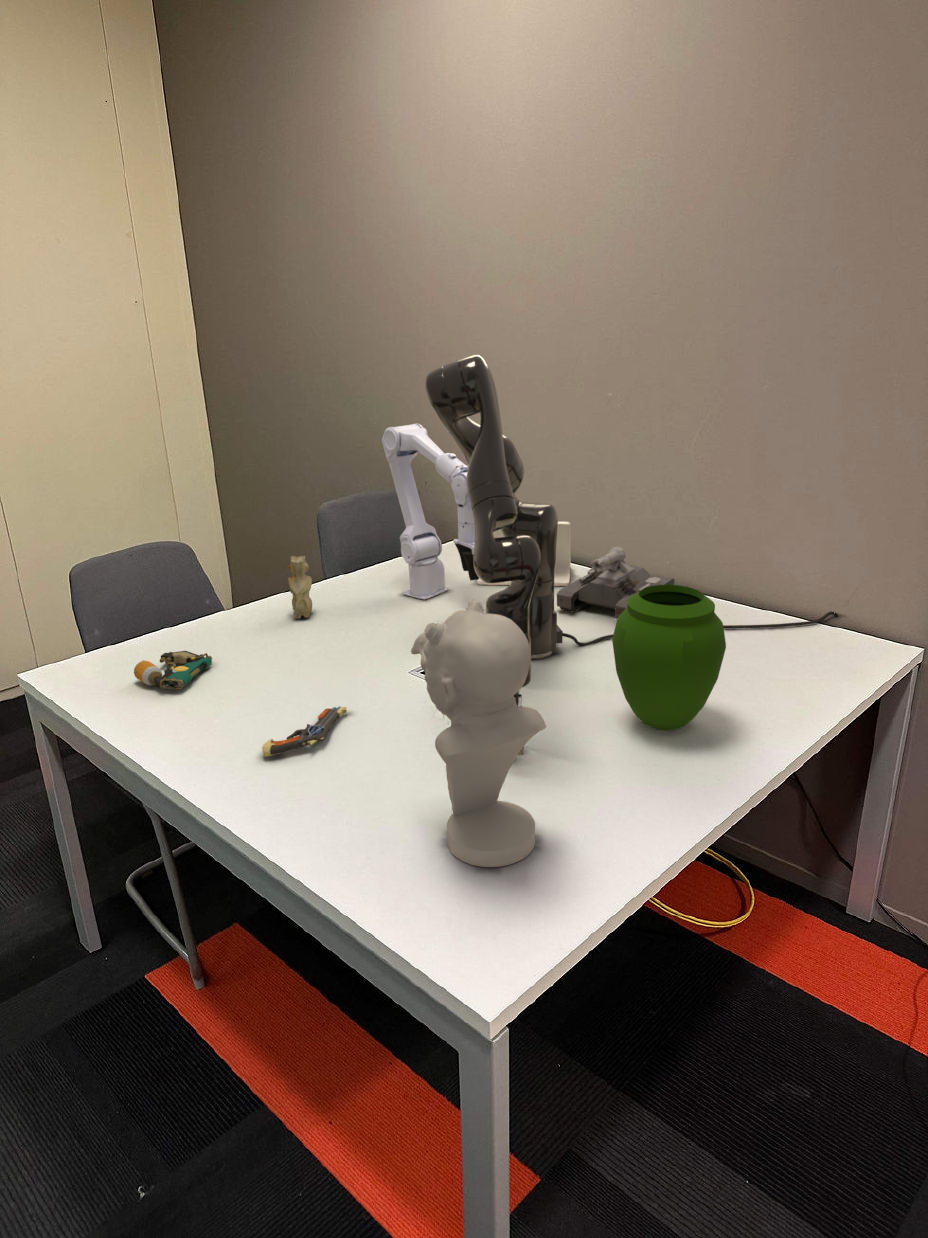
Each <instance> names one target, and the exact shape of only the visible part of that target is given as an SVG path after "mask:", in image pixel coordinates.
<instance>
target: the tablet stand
mask: <svg viewBox="0 0 928 1238" xmlns="http://www.w3.org/2000/svg"><path fill="white" fill-rule="evenodd" d="M493 536H494V538H500V537H504V535H503V533H502V530H501V529H500V530H497V531H495V532H493ZM571 560H572V558H571V522H569V521H558V531H557V545H556V563H555V570H554V587H556V586H557V587H566V586H567V585H569V584H570V580H571V579H570V578H571V565H572V564H571ZM476 581H477V582H476V584H478V585H484V586H485V585H486V586H487V585H489V586H490V585H491V586H509V585H510V584H511V581H507V582H500V583H485V582H483V581H482V580H481V579H480V578H479V580H476Z"/></svg>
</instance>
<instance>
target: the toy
mask: <svg viewBox="0 0 928 1238" xmlns="http://www.w3.org/2000/svg"><path fill="white" fill-rule="evenodd" d="M626 557H627V556H626V551H625V549H624V548H622V547H621V546H614V547H612V548H611V549H610V550H609V552H608V553H607V554H605V555H604V556H601V557H599V558H598V559H597V557H596V558H594V559H593V560H592V561H590V562H589V563H590V564H591V565H592V567H591V568H590V569H589V570H587V573H586V575H584V576H582V577H580V578H578V579H577V580H575V581H573V582H570V583H569V585H567V586H563V587H562V588H560V589H559V590H558V591H557V592H556V607H558V608H559V609H560V610H562V611H566V612H572V613H575V612H577V611H579V610H581V609H582V608H585V607H586V606H588V605H592V606H598V607H602V608H603V607H604V608H609V609H613V610H614V618H615V619H616V620H617V619H618V616H619V615H620V614H621V613H622V612H623V611H624V610H625V609H626V608H627V601H628V599H629V598H630V597H631V596H632V595H634V594H636V593H638V592H639V591H640V590H642V589H644V588H646V587H650V586H656V585H675V580H676V579H675V578H673V577H668V576H663V575H656V576H655V577H654V576H651V574H650V573H649V572H648V571H647V570H646V568H644V567H641V566H635V565H629V564H628V563H627V562H626V561H625V559H626Z"/></svg>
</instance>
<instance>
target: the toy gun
mask: <svg viewBox="0 0 928 1238" xmlns="http://www.w3.org/2000/svg"><path fill="white" fill-rule="evenodd" d="M347 708H348V707H347V706H340V705H339V706H337V707H336V706H333V707H332V708H325V709H324V710H323V711H322V712H321V713H320V714H319V715H318V716H317V721H316V722H315V723H314V724H309V723H307V724H306V727H305V728H302V729H295V730H294V732H293V733H291V734H290V735H288V736H287V737H286V739H283V740H274V739H273V738H269V740H266V742H264V743H263V745H262V747H261V748H262V749H261V750H262V754H263V756H264V757H267V758H268V757H272V756H275V755H276V756H277V755H280V754H283V753H287V752H290V751H293V750H298V749H300V748H303V747H306V746H309V745H310V746H313V745H314V744H316V743H318V742H319V741H321V740H324V738H325V737H327V735H328V733H329V732H330V731H331V729H332V727H333V725H334V724H335V723H336V722H337V721H338V720H339V718H341V717H342V715H344V714H347V712H348V709H347Z"/></svg>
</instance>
